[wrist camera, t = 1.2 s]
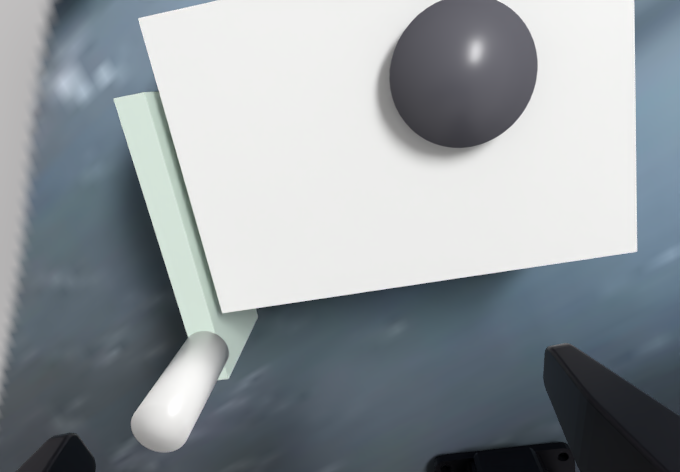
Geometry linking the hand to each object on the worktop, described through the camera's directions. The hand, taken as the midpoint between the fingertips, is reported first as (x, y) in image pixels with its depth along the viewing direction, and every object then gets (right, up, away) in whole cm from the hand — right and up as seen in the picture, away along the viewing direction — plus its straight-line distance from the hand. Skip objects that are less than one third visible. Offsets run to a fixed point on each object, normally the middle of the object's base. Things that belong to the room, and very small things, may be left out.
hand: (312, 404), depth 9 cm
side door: (-5, +4, +11) cm, 13 cm away
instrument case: (+3, +8, +10) cm, 13 cm away
